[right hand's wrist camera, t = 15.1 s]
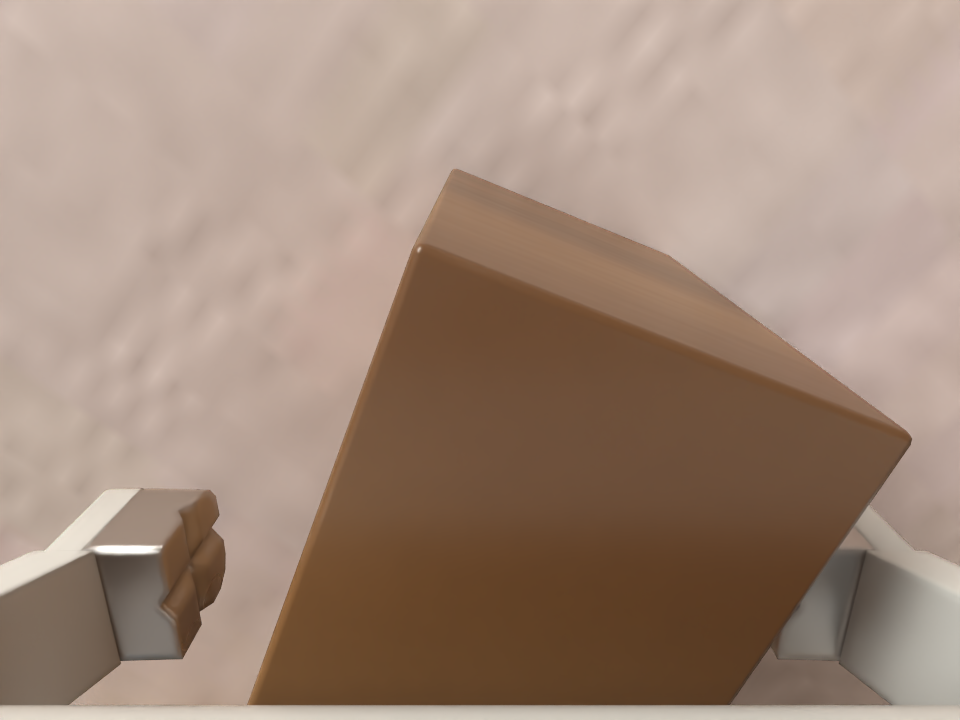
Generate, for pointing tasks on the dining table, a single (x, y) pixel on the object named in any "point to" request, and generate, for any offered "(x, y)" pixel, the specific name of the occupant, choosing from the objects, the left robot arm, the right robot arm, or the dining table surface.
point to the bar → (568, 480)
